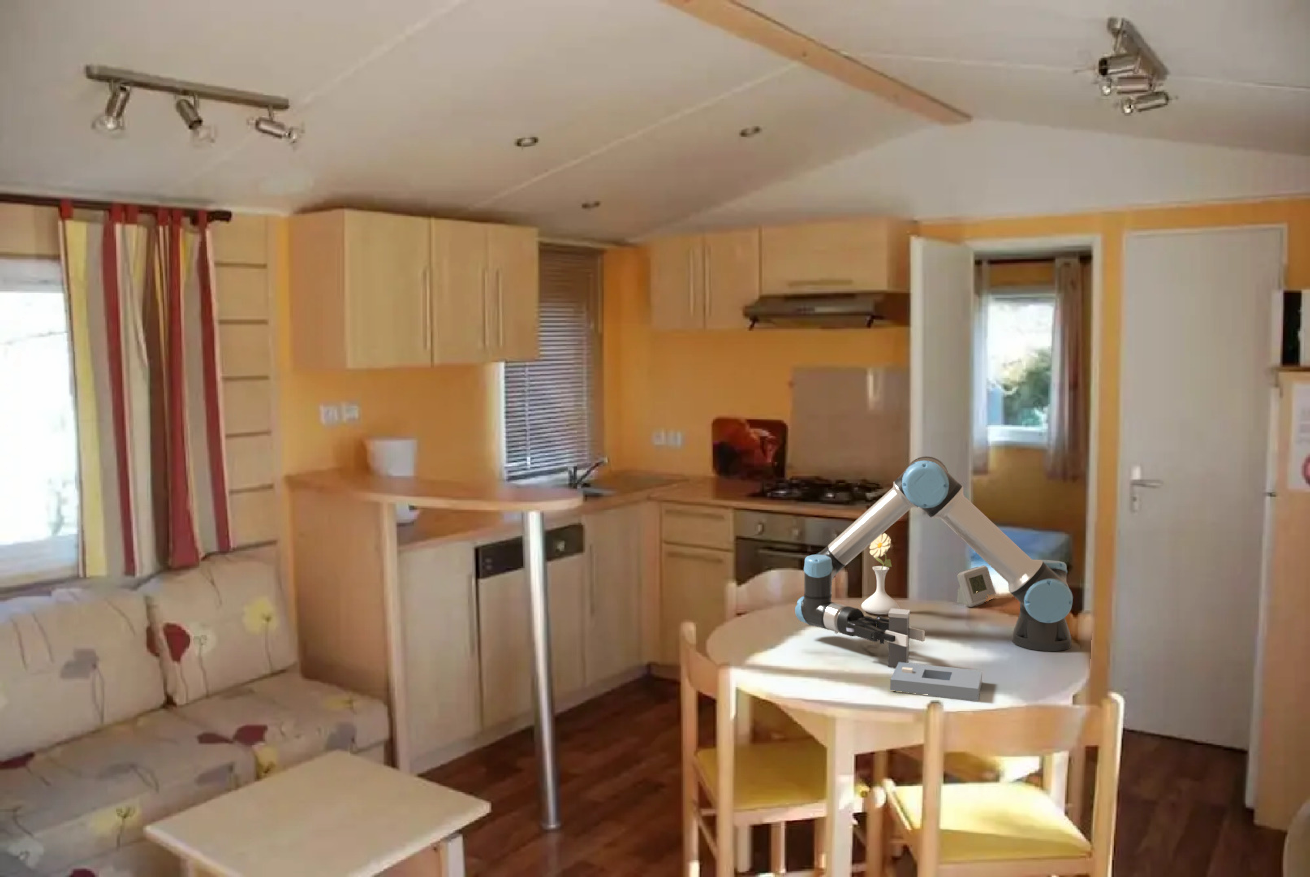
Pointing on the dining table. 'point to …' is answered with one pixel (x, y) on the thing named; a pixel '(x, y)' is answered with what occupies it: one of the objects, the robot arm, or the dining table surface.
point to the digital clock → (974, 586)
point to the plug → (900, 625)
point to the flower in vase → (880, 579)
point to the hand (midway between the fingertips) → (915, 638)
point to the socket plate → (937, 681)
